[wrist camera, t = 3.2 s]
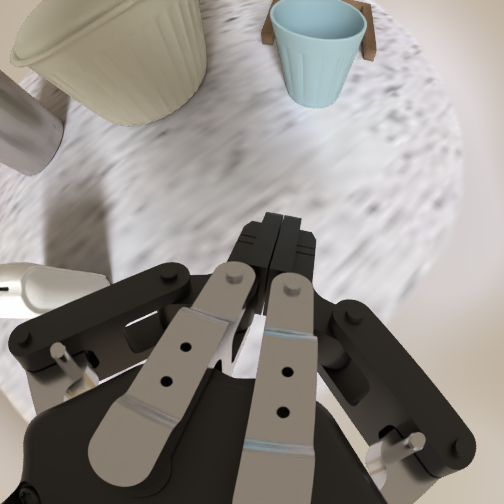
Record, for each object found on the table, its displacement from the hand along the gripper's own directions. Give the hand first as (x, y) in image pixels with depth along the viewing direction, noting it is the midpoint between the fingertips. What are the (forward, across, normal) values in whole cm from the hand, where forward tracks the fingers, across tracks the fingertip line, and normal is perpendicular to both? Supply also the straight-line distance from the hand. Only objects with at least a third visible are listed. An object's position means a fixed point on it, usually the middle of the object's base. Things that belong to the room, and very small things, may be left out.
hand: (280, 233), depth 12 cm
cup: (+22, 0, -4) cm, 22 cm away
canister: (+21, +18, -4) cm, 28 cm away
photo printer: (+3, +20, +14) cm, 24 cm away
